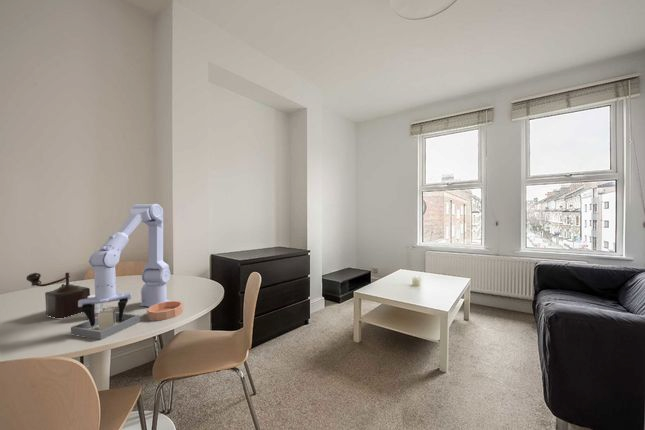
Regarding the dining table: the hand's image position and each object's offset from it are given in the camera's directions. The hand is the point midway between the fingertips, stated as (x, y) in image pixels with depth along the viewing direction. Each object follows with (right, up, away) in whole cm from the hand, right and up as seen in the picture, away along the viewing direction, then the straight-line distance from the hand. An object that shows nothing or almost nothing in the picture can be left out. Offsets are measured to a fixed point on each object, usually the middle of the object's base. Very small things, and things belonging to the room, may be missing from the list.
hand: (107, 322), depth 93 cm
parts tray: (0, -2, 0) cm, 2 cm away
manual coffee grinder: (-29, -2, +12) cm, 31 cm away
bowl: (+14, -1, +12) cm, 18 cm away
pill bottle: (-13, -2, +10) cm, 16 cm away
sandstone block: (0, -2, 0) cm, 2 cm away
